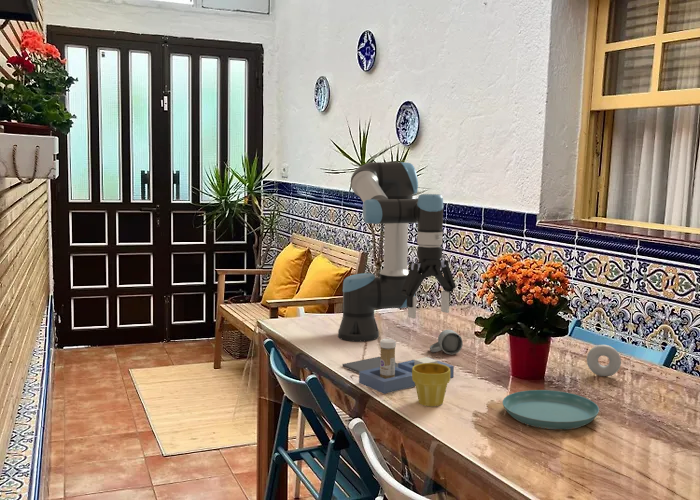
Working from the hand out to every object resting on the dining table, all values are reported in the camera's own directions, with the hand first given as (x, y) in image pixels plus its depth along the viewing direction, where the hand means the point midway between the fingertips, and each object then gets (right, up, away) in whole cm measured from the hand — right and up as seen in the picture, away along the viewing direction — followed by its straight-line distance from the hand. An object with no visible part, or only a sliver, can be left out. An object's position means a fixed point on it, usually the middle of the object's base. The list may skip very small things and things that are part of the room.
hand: (428, 314), depth 216 cm
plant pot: (-2, -22, -22) cm, 31 cm away
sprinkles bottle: (-13, -20, -6) cm, 25 cm away
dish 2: (-1, -19, +2) cm, 19 cm away
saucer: (+28, -24, -31) cm, 48 cm away
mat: (-16, -18, +10) cm, 26 cm away
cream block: (-1, -19, +2) cm, 19 cm away
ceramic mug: (+9, -16, +29) cm, 34 cm away
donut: (+54, -19, +2) cm, 57 cm away
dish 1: (-13, -20, -7) cm, 25 cm away
